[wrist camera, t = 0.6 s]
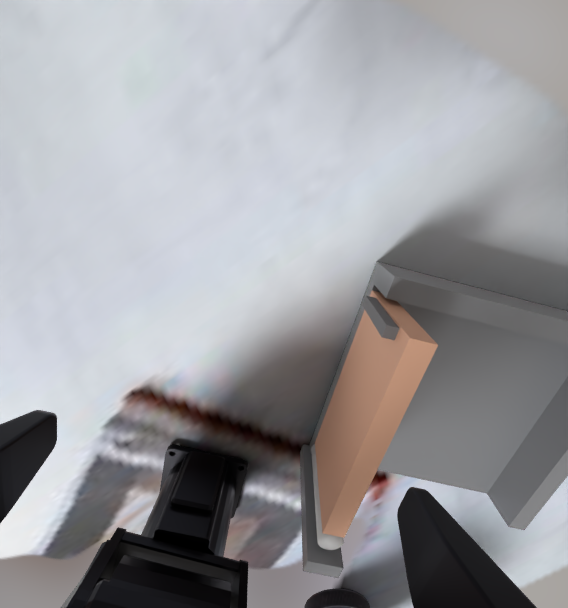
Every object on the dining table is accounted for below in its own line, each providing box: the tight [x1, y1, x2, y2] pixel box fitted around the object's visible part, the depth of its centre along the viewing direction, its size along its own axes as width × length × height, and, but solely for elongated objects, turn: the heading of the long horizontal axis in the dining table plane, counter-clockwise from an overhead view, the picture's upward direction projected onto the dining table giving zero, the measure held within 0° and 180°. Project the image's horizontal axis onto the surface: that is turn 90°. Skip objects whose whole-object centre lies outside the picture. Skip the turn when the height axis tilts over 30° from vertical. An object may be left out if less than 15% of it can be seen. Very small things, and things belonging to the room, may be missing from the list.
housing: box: [300, 262, 568, 578], centre depth 18 cm, size 16×16×8 cm
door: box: [311, 290, 438, 550], centre depth 17 cm, size 13×2×6 cm, turn 166°
